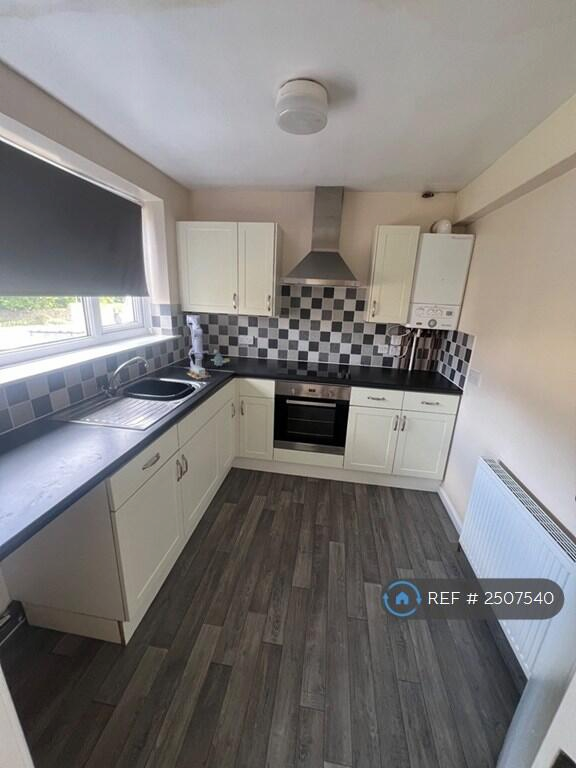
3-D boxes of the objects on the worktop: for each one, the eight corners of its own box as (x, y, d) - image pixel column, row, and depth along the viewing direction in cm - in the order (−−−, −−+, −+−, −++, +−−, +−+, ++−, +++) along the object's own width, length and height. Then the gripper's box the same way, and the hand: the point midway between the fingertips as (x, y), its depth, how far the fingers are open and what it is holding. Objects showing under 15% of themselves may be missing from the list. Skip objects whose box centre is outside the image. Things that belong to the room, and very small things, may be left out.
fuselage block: (192, 373, 227) (192, 366, 226) (199, 372, 231) (198, 366, 229) (198, 376, 219) (198, 369, 218) (205, 375, 222) (205, 368, 221)
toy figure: (207, 366, 257) (206, 348, 253) (215, 364, 266) (214, 347, 262) (222, 368, 249) (221, 351, 245) (230, 366, 258) (230, 349, 254)
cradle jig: (187, 374, 228) (186, 370, 228) (200, 372, 235) (200, 368, 234) (197, 379, 215) (196, 375, 214) (211, 377, 222) (211, 373, 221)
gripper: (190, 347, 212) (191, 366, 216) (210, 345, 221) (210, 363, 225) (187, 345, 217) (188, 364, 221) (205, 344, 226) (206, 362, 230)
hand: (199, 363), depth 223 cm, fingers open, 7 cm apart
